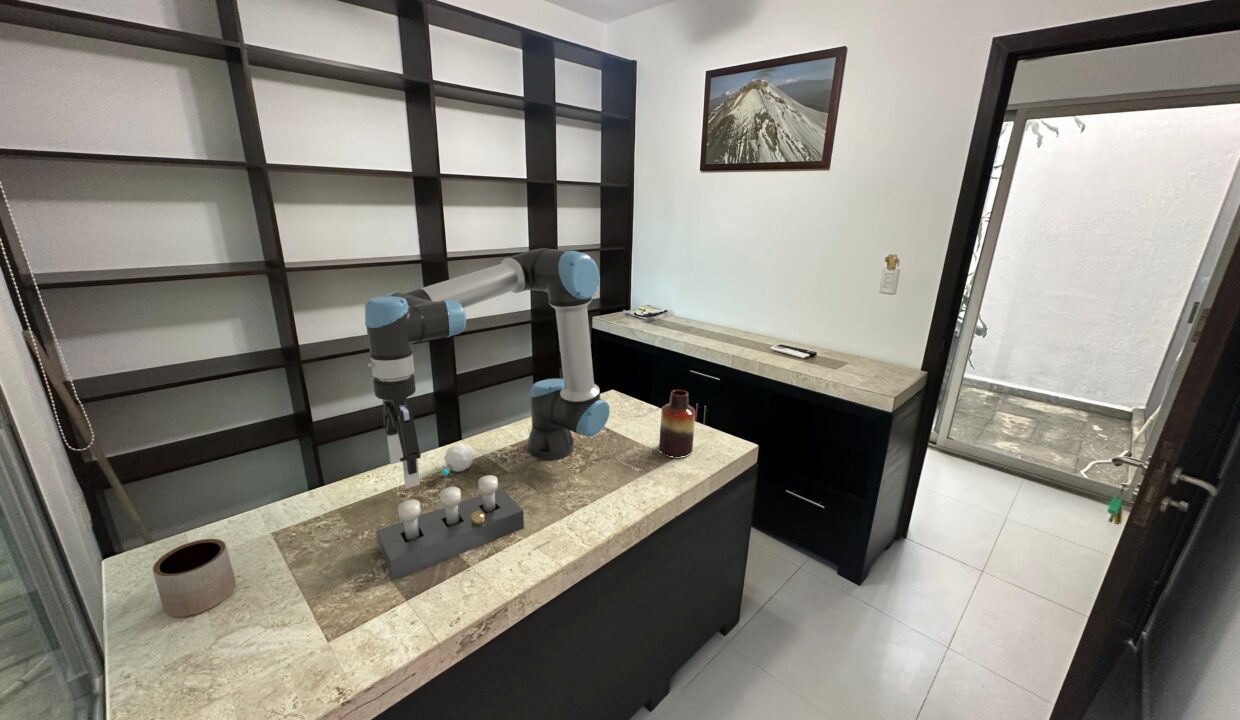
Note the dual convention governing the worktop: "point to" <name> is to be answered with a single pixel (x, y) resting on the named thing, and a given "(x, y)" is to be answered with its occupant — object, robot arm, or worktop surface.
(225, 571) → the planter
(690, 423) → the vase
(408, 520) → the knob
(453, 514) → the knob mid
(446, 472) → the perfume bottle
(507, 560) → the worktop surface
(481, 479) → the knob
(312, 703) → the worktop surface
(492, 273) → the robot arm
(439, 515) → the mount
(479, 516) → the brass dial
